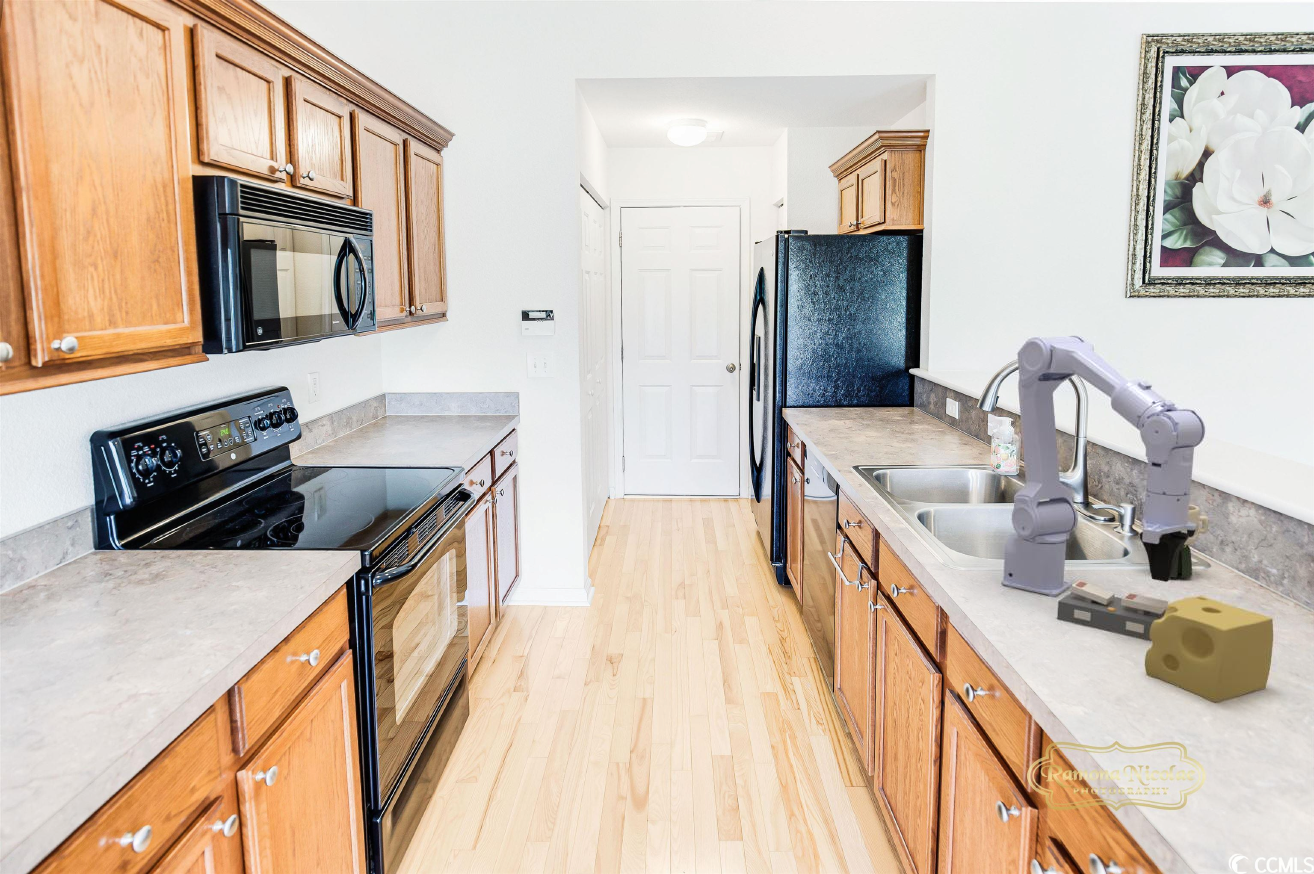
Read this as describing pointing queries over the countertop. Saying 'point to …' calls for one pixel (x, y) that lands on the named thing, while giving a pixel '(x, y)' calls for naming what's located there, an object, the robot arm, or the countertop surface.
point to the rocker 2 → (1144, 603)
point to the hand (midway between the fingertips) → (1160, 579)
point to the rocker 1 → (1092, 592)
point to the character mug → (1184, 557)
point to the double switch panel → (1107, 615)
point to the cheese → (1211, 648)
